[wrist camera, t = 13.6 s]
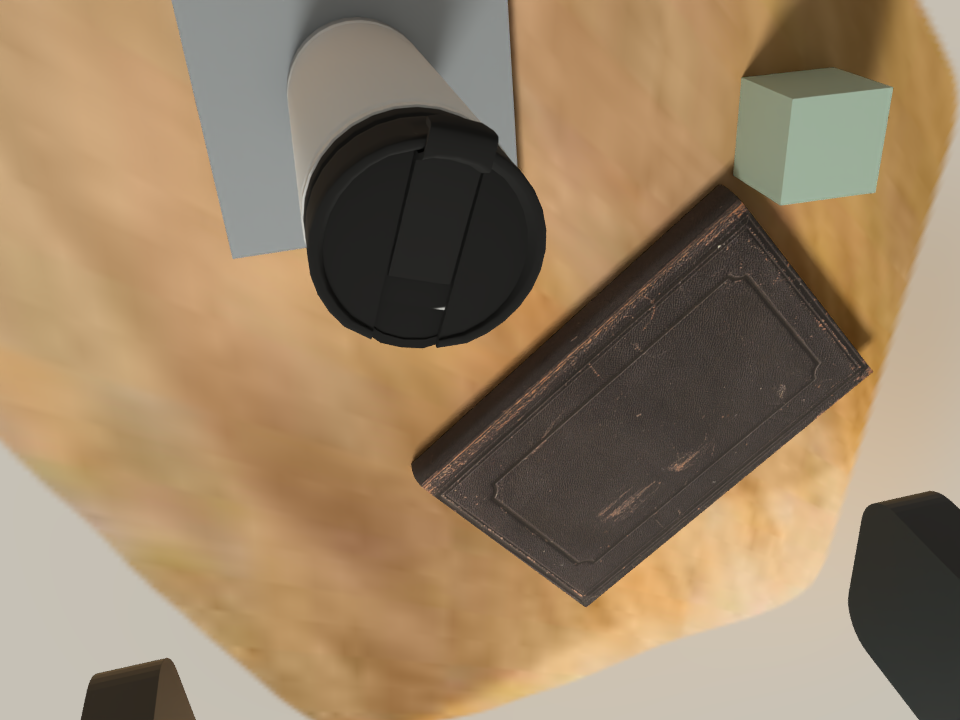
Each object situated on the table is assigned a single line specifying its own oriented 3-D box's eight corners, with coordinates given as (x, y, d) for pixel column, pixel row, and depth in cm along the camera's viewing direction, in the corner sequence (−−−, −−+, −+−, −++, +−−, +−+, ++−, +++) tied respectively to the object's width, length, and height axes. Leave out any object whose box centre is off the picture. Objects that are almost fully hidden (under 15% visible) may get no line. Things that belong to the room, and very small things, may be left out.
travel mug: (444, 27, 38) (590, 150, 21) (411, 171, 41) (517, 383, 24) (300, -9, 37) (333, 95, 20) (276, 145, 39) (287, 355, 22)
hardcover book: (851, 354, 54) (873, 372, 52) (575, 583, 59) (586, 608, 57) (715, 179, 47) (735, 192, 45) (408, 458, 51) (414, 482, 49)
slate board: (157, -72, 35) (154, -70, 34) (495, -105, 37) (501, -105, 37) (233, 251, 42) (232, 259, 41) (515, 208, 44) (520, 214, 43)
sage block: (740, 77, 44) (792, 99, 39) (832, 66, 44) (893, 87, 40) (732, 174, 46) (780, 205, 42) (819, 163, 47) (875, 192, 43)
